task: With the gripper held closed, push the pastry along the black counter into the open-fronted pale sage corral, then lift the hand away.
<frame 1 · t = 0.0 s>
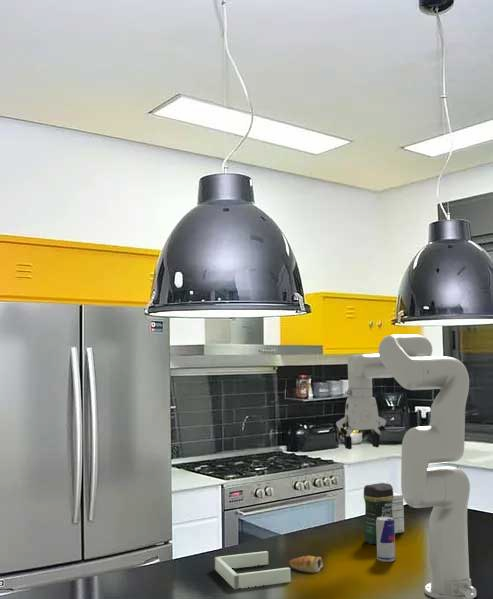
hand: (362, 447, 224), 31 cm above the countertop, tool pointing down, fingers open, 9 cm apart
supplement box: (389, 531, 242), on the countertop
c-shaped clip: (251, 575, 197), on the countertop
pastry: (307, 570, 202), on the countertop
coffee jar: (379, 542, 229), on the countertop
energy drink: (386, 560, 209), on the countertop
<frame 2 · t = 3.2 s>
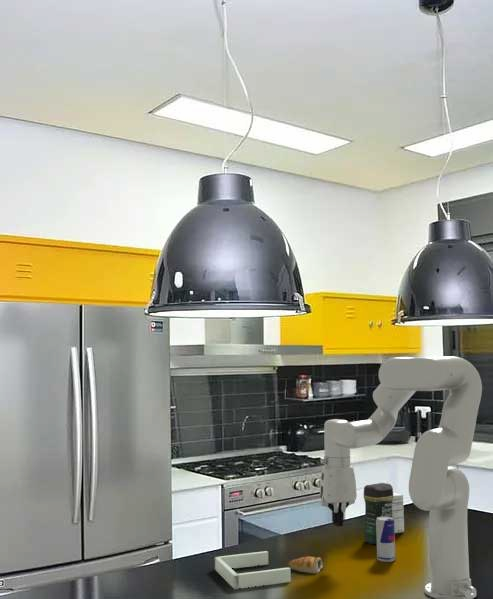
hand: (338, 525, 207), 11 cm above the countertop, tool pointing down, fingers closed
nothing on the countertop moved.
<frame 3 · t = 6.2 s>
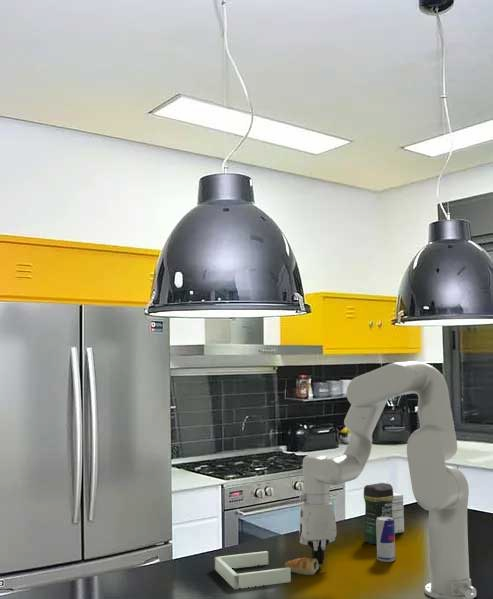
hand: (318, 563, 203), 1 cm above the countertop, tool pointing down, fingers closed
pastry: (303, 572, 200), on the countertop, touching gripper
everything else where it was.
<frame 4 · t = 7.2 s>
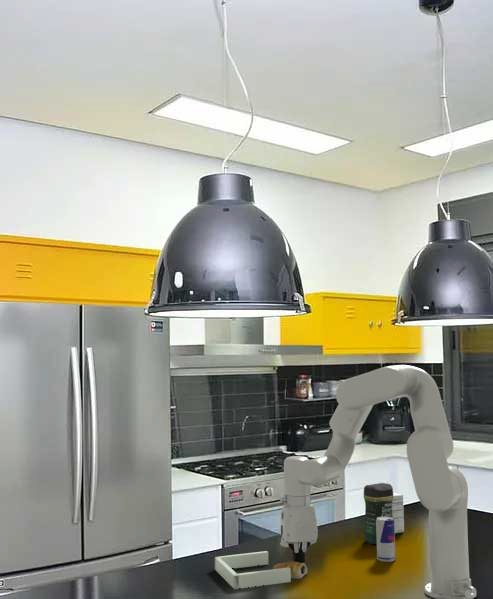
hand: (299, 565, 202), 1 cm above the countertop, tool pointing down, fingers closed
pastry: (291, 576, 197), on the countertop, touching gripper
everything else where it was.
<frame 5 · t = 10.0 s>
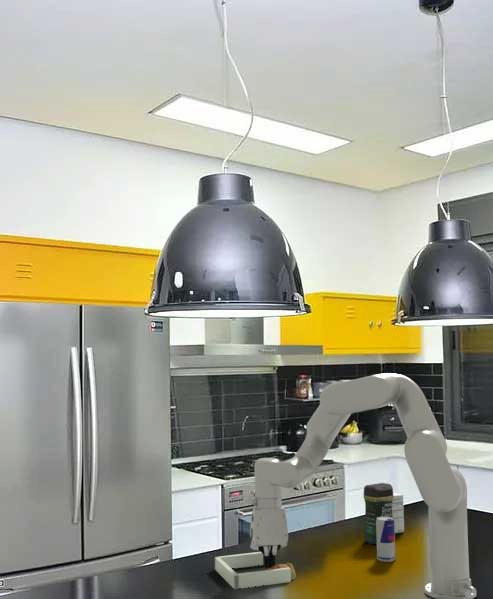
hand: (269, 568, 199), 1 cm above the countertop, tool pointing down, fingers closed
pastry: (279, 579, 194), on the countertop
everything else where it was.
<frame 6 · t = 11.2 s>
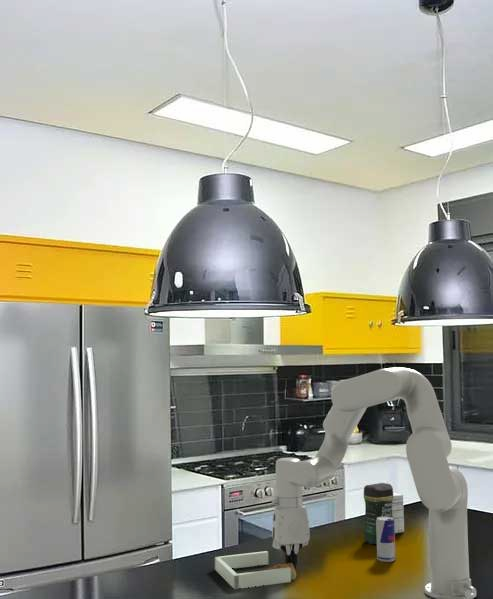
hand: (291, 567, 200), 1 cm above the countertop, tool pointing down, fingers closed
nothing on the countertop moved.
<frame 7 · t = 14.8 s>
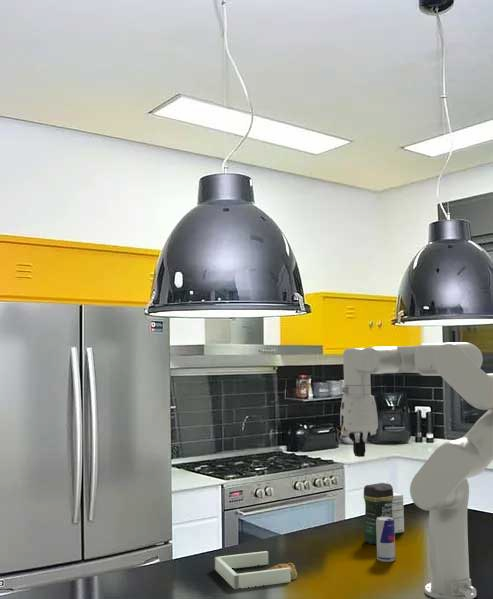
hand: (359, 456, 200), 32 cm above the countertop, tool pointing down, fingers closed
nothing on the countertop moved.
at the end: pastry inside the target area (8.3 cm from its centre), on the countertop; pastry moved 11.2 cm from its start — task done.
